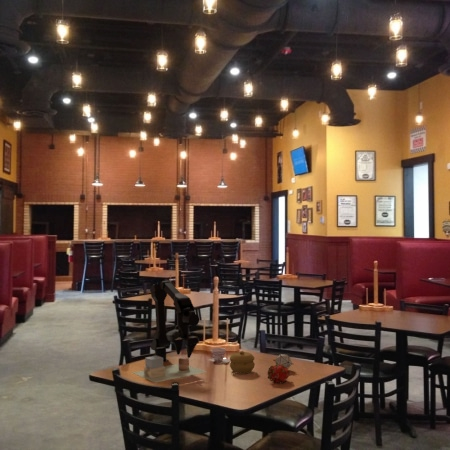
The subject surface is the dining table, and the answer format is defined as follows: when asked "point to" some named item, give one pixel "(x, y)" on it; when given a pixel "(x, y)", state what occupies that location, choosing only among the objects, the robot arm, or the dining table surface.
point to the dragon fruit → (278, 373)
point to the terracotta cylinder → (183, 364)
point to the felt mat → (171, 373)
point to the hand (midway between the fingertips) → (183, 356)
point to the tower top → (154, 362)
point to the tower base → (154, 371)
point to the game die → (283, 360)
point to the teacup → (219, 355)
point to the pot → (242, 362)
